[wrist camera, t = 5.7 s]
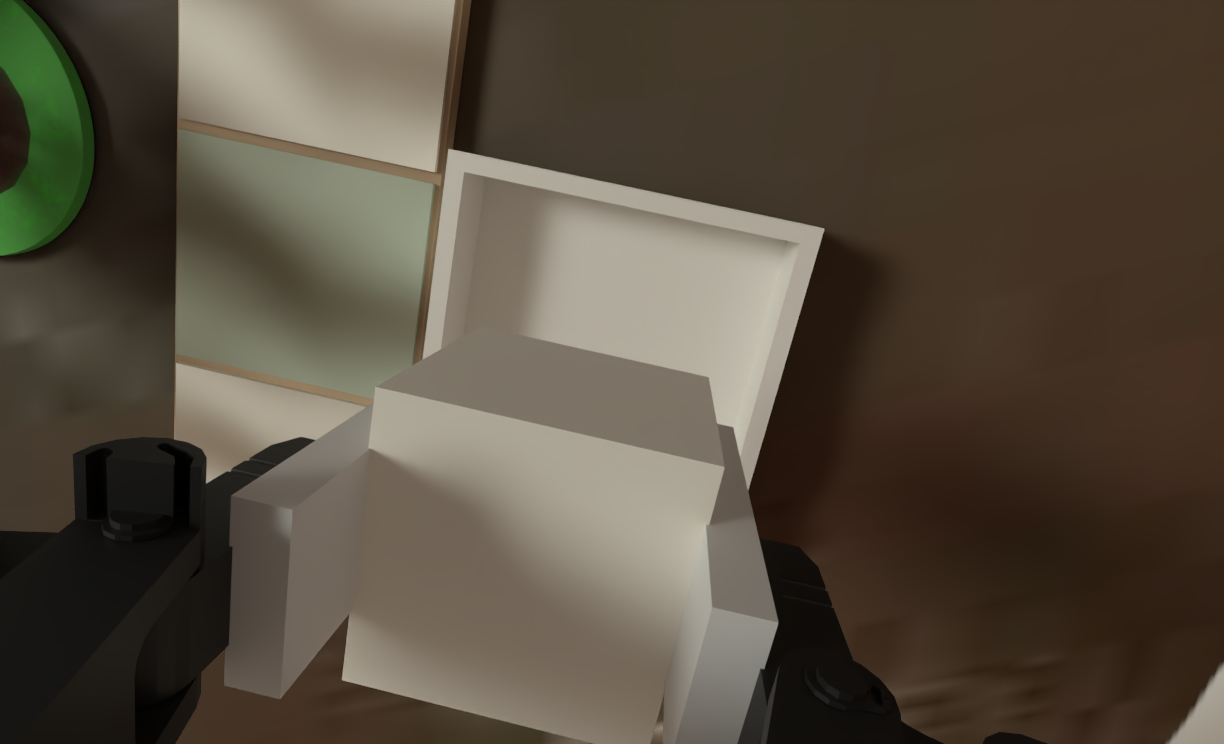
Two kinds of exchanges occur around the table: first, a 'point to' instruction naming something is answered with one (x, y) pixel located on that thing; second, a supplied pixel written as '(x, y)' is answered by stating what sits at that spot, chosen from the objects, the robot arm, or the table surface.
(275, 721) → the table surface
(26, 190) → the red and green piece
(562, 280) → the tray
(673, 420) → the cube
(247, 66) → the board
